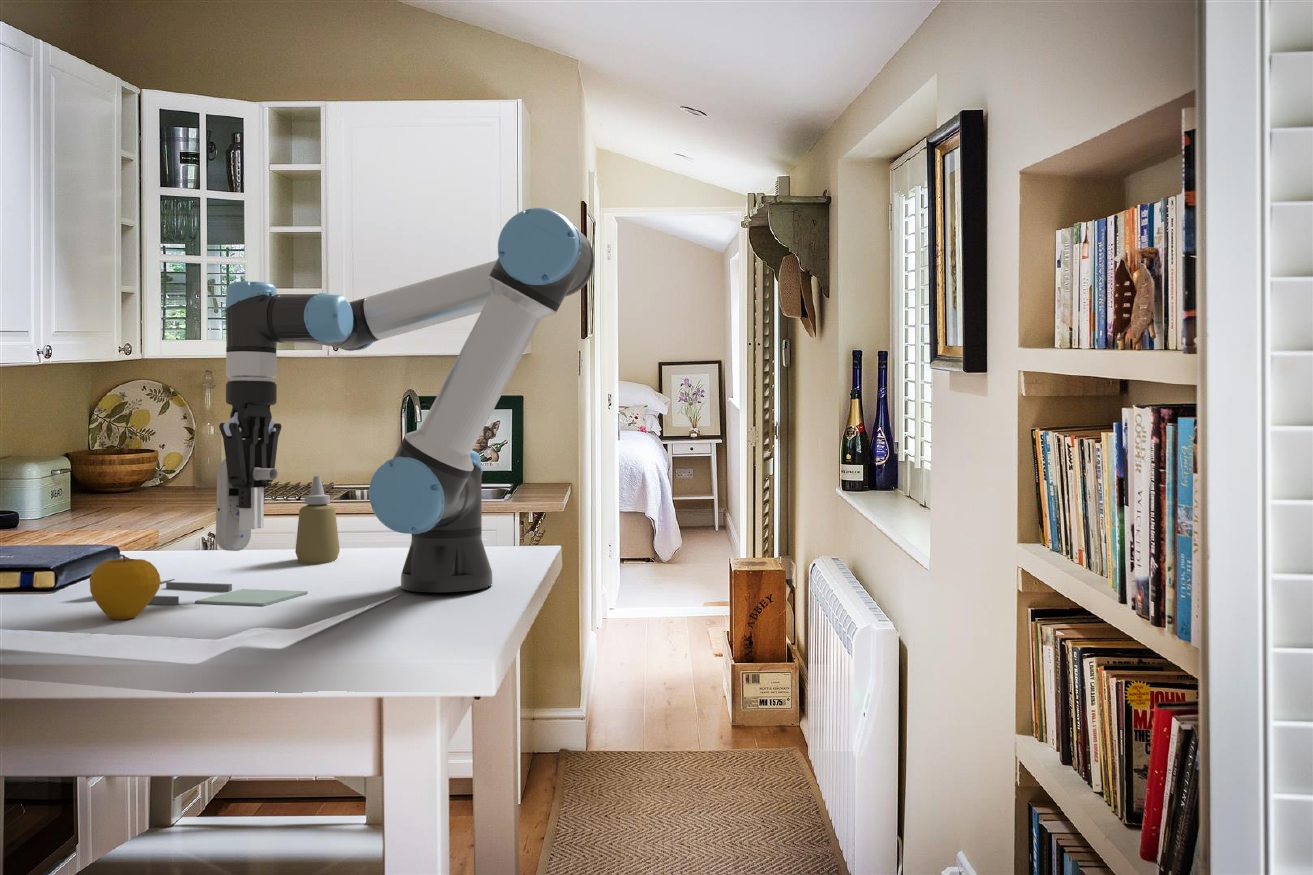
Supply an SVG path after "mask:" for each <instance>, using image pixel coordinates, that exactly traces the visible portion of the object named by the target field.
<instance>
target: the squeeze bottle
mask: <svg viewBox="0 0 1313 875" xmlns="http://www.w3.org/2000/svg"><path fill="white" fill-rule="evenodd" d="M311 483H312V484H311V488H310V492H309V494H308V495H304V498H303V499H304V504H305V505H304V506H302V507H301V508H300V509H299V512H298V519H297V520H298V522H297V530H296V531H297V532H296V541H295V551H294V552H295V555H296V558H297V561H298V563H299V564H303V565H322V563H323V564H329V562H330V563H333V562H336V561H337V560H338V556H339V554H340V551H341V550H340V543H339V542H340V541H339V540H340V539H339V534H338V533H339V532H338V522H337V515H336V513H337V512H336V508H335V507H333V506H332V505H330V504H331V496H330V494H325V491H324V487H323V483H322V478H321V476H320V475H316V476H315V475H314V476H313V478H312V482H311ZM336 559H337V560H336ZM335 560H336V561H335ZM332 561H333V562H332Z"/></svg>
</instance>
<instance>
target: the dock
mask: <svg viewBox="0 0 1313 875" xmlns="http://www.w3.org/2000/svg"><path fill="white" fill-rule="evenodd" d="M175 580H176V579H175V578H172V579H167V580H162V581H161V583H160V585H164V584H165V588H166V589H167V590H169V589H170V590H189V591H190V590H191V591H208V592H225V593H229V592H233V583H214V582H211V583H210V582H185V581H183V582H182V581H175ZM92 599H93V600H95V599H94V598H93V597H92ZM179 600H180V599H179V596H177V595H157V594H156V595H155V596H154V597H153V598H152V600H151V601H150V602H149V603H148V605H165V606H167V605H169V606H177V605H179V604H180V603H179V602H180V601H179Z"/></svg>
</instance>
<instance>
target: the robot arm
mask: <svg viewBox="0 0 1313 875" xmlns="http://www.w3.org/2000/svg"><path fill="white" fill-rule="evenodd" d="M497 256H498V258H497V259H496V260H492V261H488V262H484V263H483V264H477V265H475V266H471V267H468V268H465V269H464V268H463V269H461V270H457V271H454V272H450V273H446V274H443V275H440V276H436V277H432V278H429V279H425V280H422V281H418V282H415V283H411V284H409V285H408V284H407V285H404V286H402V287H398V288H394V289H391V290H388V291H387V290H386V291H384V292H379V293H376V294H372V295H369V296H366V297H364V298H359V299H356V300H352V301H349V302H348V299H347V298H346V297H345V296H343V295H341V294H327V293H318V294H291V295H290V294H288V295H282V294H278V293H277V288H276V286H275V285H274V284H272V283H269V282H263V281H250V280H249V281H246V280H244V281H241V280H240V281H233V282H232V283H229V285H228V286H227V288H226V294H225V295H226V296H225V307H224V314H225V342H226V345H225V346H226V347H225V348H226V349H225V353H226V354H225V355H226V357H225V365H226V366H225V377H226V378H228V379H229V380H230V381H229V380H228V381H226V383H225V403H226V404H227V405H229V406H232V407H231V412H230V415H229V416H230V419H229V420H228V421H227V422H221V423H220V422H219V431H220V433H221V435H222V436H221V437H222V439H223V446H224V447H223V448H224V455H225V459H226V465H227V473H228V481H229V483H230V484H232V487H233V488H238V489H239V529H251V530H258V529H264V527H265V523H264V522H265V519H264V518H265V515H264V514H265V513H264V512H265V511H264V510H265V509H264V508H265V506H264V505H265V487H268V488H269V487H271V486H272V482H273V481H274V480H254V478H253V475H252V474H253V470H254V467H255V468H274V469H276V462H277V461H276V460H277V450H278V444H279V442H278V441H279V436H280V433H281V431H282V424H281V423H275V421H273V418H272V417H273V416H272V413H271V406H275V405H276V404H277V399H278V398H277V396H278V395H277V394H278V393H277V386H278V385H277V383H276V382H275V381H274V379H277V377H278V370H277V369H278V364H277V363H278V362H277V361H278V360H277V358H278V357H277V346H278V344H277V343H280V344H282V343H285V344H286V343H306V344H315V345H322V346H328V347H333V348H338V349H340V350H343V351H349V352H351V351H352V352H354V351H362V350H365V349H367V348H369V347H370V346H371V345H372V344H373V343H374V342H378V341H381V340H385V339H388V338H391V337H395V336H399V335H402V334H407V333H410V332H413V331H418V330H422V329H424V328H429V327H432V326H435V325H439V324H442V323H446V322H450V321H453V320H457V319H460V318H464V317H465V318H466V317H468V316H471V315H475V314H479V313H480V314H479V316H478V318H477V319H476V322H475V323H474V325H473V327H472V329H471V331H470V332H469V335H468V336H467V339H466V340H465V342H464V343H463V346H462V348H461V350H460V352H459V354H458V355H457V357H456V359H455V361H454V363H453V365H452V366H451V369H450V370H449V372H448V375H446V378H445V380H444V382H443V383H442V386H441V388H440V390H439V392H438V394H437V396H436V397H435V399H434V402H433V403H432V405H431V407H430V409H429V410H428V412H427V414H426V417H425V418H424V421H423V422H422V424H421V426H420V428H418V429H416V430H414V431H410V432H406V433H405V435H404V436H403V439H402V440H401V442H400V445H399V446H398V448H397V450H396V452H395V453H394V456H393V458H390V459H388V460H386V461H385V462H383V464H381V465H380V466H379V467H378V468H377V469H376V470H375V472H374V473H373V476H372V477H371V479H370V483H369V489H368V499H369V502H370V505H371V508H372V511H373V514H374V516H376V518H377V519H378V521H379V522H380V523H381V524H382V525H384V526H385V527H386V528H388V529H389V530H391V531H393V532H396V533H400V534H409V535H410V534H411V539H410V545H409V548H408V552H407V554H406V558H405V561H404V564H403V567H402V571H401V574H400V588H401V589H402V590H405V591H409V592H417V593H422V592H423V593H454V592H455V593H456V592H468V591H476V590H481V589H486V588H489V587H492V585H493V570H492V567H491V563H490V561H489V559H488V556H487V552H486V549H485V546H484V543H483V538H482V536H483V535H482V530H483V529H482V527H483V525H482V522H483V521H482V520H483V519H482V514H483V513H482V499H483V498H482V475H483V468H482V461H481V460H482V459H481V456H480V454H479V453H478V452H477V451H475V450H474V448H475V445H476V444H477V441H478V440H479V438H480V436H481V434H482V432H483V430H484V428H485V426H486V424H487V423H488V422H489V419H490V418H491V416H492V413H493V411H494V410H495V408H496V406H497V404H498V402H499V400H500V399H501V396H502V395H503V393H504V391H505V389H506V387H507V385H508V384H509V381H510V380H511V378H512V376H513V374H514V372H515V370H516V369H517V366H518V364H519V362H520V361H521V359H522V357H523V355H524V353H525V351H526V350H527V347H528V345H529V344H530V342H531V340H532V338H533V336H534V335H535V333H536V331H537V329H538V327H539V326H540V323H541V321H542V320H543V319H544V318H547V317H550V316H553V315H556V314H557V312H558V310H559V309H560V306H561V305H562V302H563V301H564V299H565V298H566V297H569V296H572V295H575V294H576V293H578V292H579V291H580V290H582V288H584V287H585V286H586V285H587V284H588V282H589V281H590V279H591V277H592V274H593V271H594V268H595V267H594V266H595V253H594V250H593V247H592V245H591V242H590V241H589V239H588V238H587V237H586V235H585V234H584V233H583V232H582V231H581V230H579V229H578V228H577V227H576V225H575V224H574V222H573V221H572V220H571V219H569V218H568V217H566V216H564V215H563V214H561V213H559V212H557V211H555V210H553V209H550V208H544V207H532V208H528V209H524V210H522V211H519V212H518V213H516V214H514V215H513V216H512V217H511V218H510V219H508V221H507V222H506V223H505V224H504V226H503V228H502V229H501V231H500V234H499V237H498V241H497ZM491 584H492V585H491ZM488 586H489V587H488Z"/></svg>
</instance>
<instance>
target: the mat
mask: <svg viewBox="0 0 1313 875" xmlns="http://www.w3.org/2000/svg"><path fill="white" fill-rule="evenodd" d="M308 593H309V591H308V590H281V589H280V590H279V589H255V588H252V589H251V588H250V589H249V588H246V589H245V588H242V589H237V590H232V591H230V592H225V593H221V594H216V595H212V596H208V597H205V598H201V599H196V600H194V604H199V605H202V604H204V605H227V606H228V605H230V606H232V605H233V606H255V607H256V606H257V607H258V606H259V607H265V606H268V605H272V604H275V603H276V604H277V603H279V602H282V601H285V600H289V599H293V598H298V597H301V596H304V595H308Z"/></svg>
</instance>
